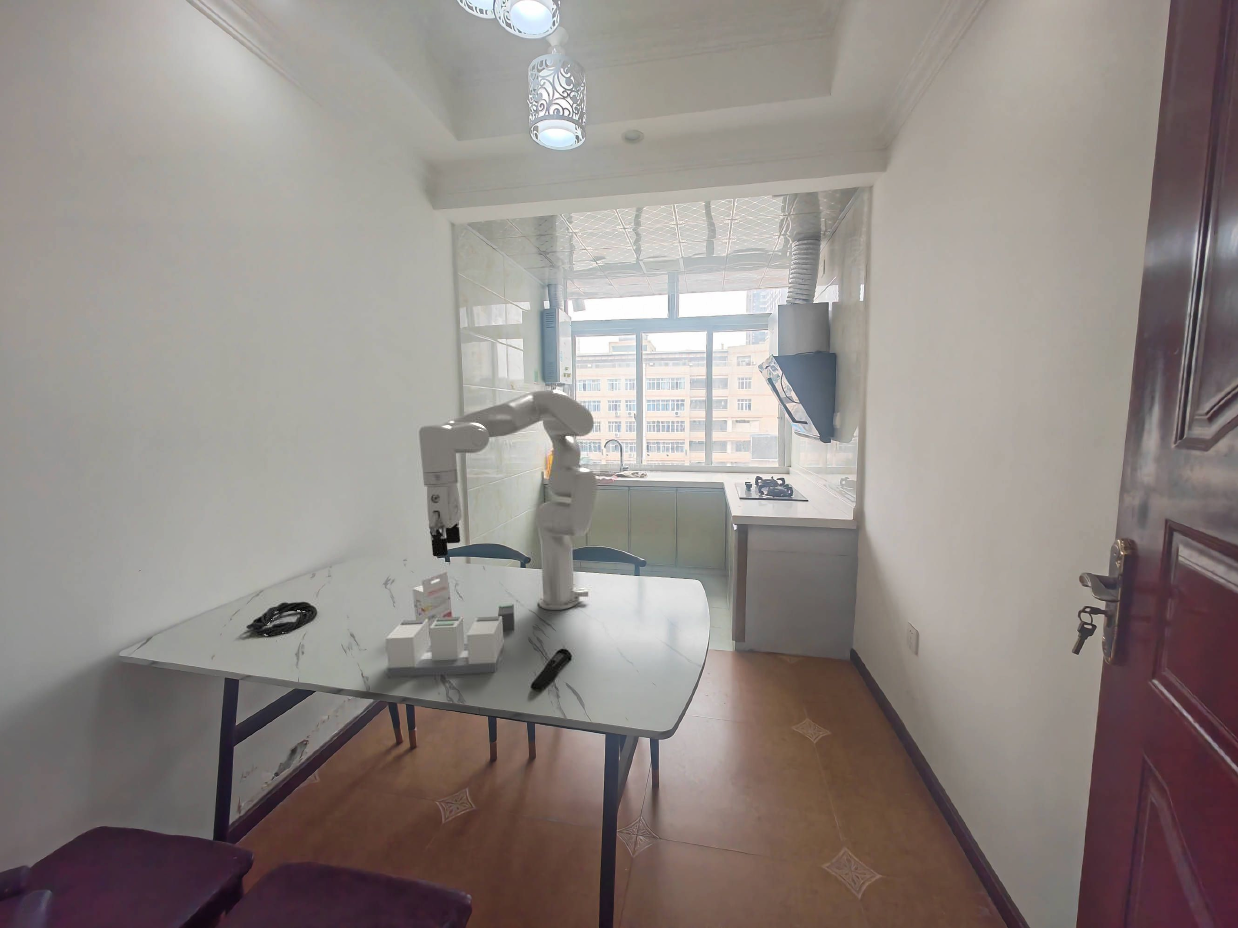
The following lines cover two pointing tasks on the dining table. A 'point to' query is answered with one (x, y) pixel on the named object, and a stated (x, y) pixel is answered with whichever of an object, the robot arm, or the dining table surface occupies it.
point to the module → (447, 638)
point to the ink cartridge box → (433, 599)
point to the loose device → (507, 616)
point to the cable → (263, 620)
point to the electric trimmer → (551, 669)
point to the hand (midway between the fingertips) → (447, 548)
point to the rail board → (415, 659)
